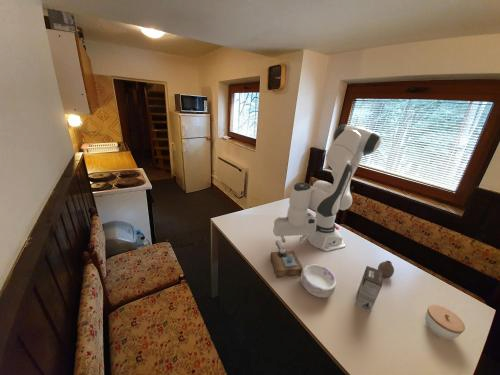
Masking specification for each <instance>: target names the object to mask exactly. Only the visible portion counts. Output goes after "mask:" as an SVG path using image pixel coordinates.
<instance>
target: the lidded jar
mask: <svg viewBox="0 0 500 375" xmlns="http://www.w3.org/2000/svg"><path fill="white" fill-rule="evenodd" d="M424 320H425V322H426V324H427V327H428V329H429V330H430V331H431V332H432V333H433V334H434V335H435V336H438V337H439V338H442V339H447V340H454V339H457V338H459V337H460V336H461V334H462V333H464V332H465V330H466V326H465V323H464V321H463V320H462V319H461V318H460V317H459V316H458V315H457V314H456V312H455V313H454V312H453V311H452V310H450V309H449V308H447V307H445V306H443V305H439V304H429V306H428V307H427V310H426V312H425V319H424Z"/></svg>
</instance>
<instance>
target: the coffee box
mask: <svg viewBox="0 0 500 375" xmlns="http://www.w3.org/2000/svg"><path fill="white" fill-rule="evenodd" d="M383 280H384V277H383V272H382V271H380V270H378V268H375V267H371V266H368V265H366V267H365V270H364V272H363V275H362V277H361V281H360V284H359V286H358V289H357V291H356V292H357V294H356V299H355V306H357V307H360V308H361V309H363V310H366V311H367V312H369V313H371V312H372V310H373V307H374V305H375V303H376V300H377V298H378V296H379V294H380V292H381V290H382V287H383Z"/></svg>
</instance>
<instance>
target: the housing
mask: <svg viewBox="0 0 500 375" xmlns="http://www.w3.org/2000/svg"><path fill="white" fill-rule="evenodd" d="M279 252H280V251H279V250H278V251H271V252H270V257H269V258H270V262H271V266H272V269H273V272H274V276H275V278H276V279H279V278H290V277H291V278H292V277H302V273H303V267H302V265H301V263H300V260H299V259H298V256H297V255H296V253H295V250H286V251H285V255H284V256H281V255H280V254H279ZM288 254H291V255H292V256H293V258H294V260H295V262H296V264H297V267H285V266H284V263H283V261H282V257H288Z"/></svg>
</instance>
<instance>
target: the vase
mask: <svg viewBox="0 0 500 375" xmlns="http://www.w3.org/2000/svg"><path fill="white" fill-rule="evenodd" d="M377 270H380V271H382V272H383V279H384V278H385V279H389V278H392V276H394V273H395V267H394V266H393V264H392V262H391V261H390V260H385V261H382V262H380V263H378V265H377Z"/></svg>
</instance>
